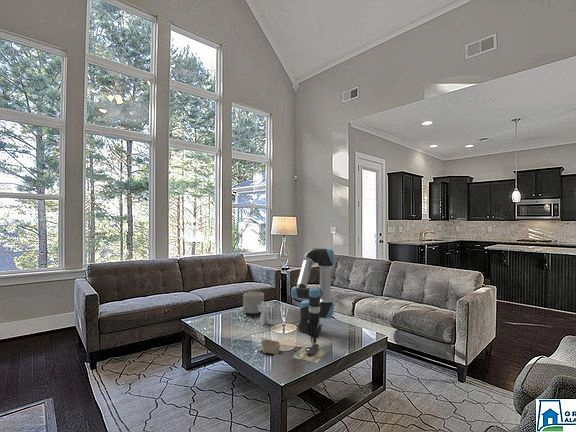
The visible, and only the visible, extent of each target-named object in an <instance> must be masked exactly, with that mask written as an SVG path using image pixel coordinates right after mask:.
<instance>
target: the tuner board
mask: <svg viewBox="0 0 576 432" xmlns="http://www.w3.org/2000/svg"><path fill="white" fill-rule="evenodd" d="M307 347H308V346H303V347H302V348H301V349H298V350H297V351H296V352H295V353H294V355H293V356H292V358H295V359H298V360H303V361H307V362H312V363H316V364H318V362H320V360H321V359H322V358H323V357H324V356H325V355H326V354H327V353H328V352H329V351H328V350H323V349H318V350H316V351H315V355H312V356H309V355H305V356H304V357H303V355H304V354H305V353H306V348H307Z"/></svg>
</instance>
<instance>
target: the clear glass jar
mask: <svg viewBox="0 0 576 432" xmlns="http://www.w3.org/2000/svg"><path fill="white" fill-rule="evenodd" d="M273 303H274V302H273ZM273 303H269V302H266V301H264V302H261V304H260V305H257V306H258V308H259V309H258V311H260V317H259V318H258V320H257V324H260V326H264V325H272V323H273V322H272V321H271V319H270V316H269V312H271V311H272V308H271V305H273Z"/></svg>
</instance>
